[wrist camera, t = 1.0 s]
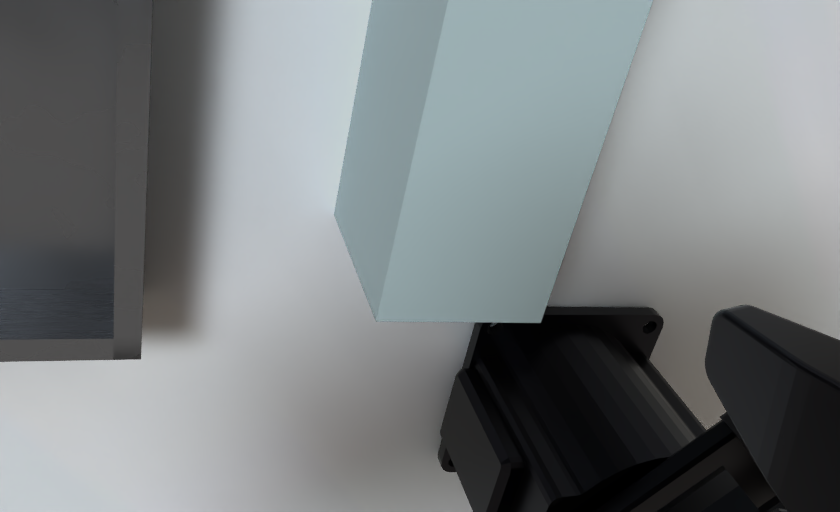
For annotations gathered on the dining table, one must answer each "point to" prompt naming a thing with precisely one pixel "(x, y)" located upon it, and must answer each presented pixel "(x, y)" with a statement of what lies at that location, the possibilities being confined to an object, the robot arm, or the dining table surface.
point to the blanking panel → (477, 149)
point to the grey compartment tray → (73, 177)
